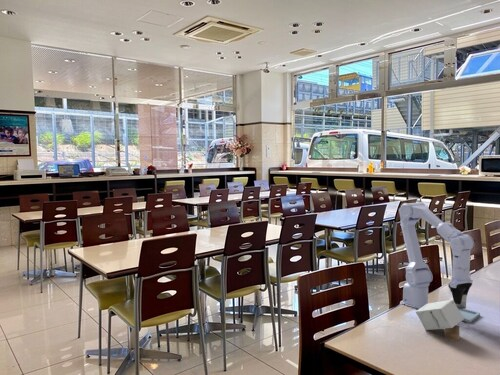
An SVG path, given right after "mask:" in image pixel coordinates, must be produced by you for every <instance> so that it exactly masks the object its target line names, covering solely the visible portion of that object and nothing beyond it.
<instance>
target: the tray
mask: <svg viewBox="0 0 500 375" xmlns="http://www.w3.org/2000/svg"><path fill="white" fill-rule="evenodd" d="M458 309H459V308H458ZM459 311H460V313H461V315H462V316H463V318H464V320H462V321H461V322H464V323H467V324H472V323H473V322H474V321H476V320H477V319H478V318H479V317H480V316H481V312H478V311H475V310H471V309H467V308H466V309H459Z"/></svg>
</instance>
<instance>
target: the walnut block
mask: <svg viewBox="0 0 500 375" xmlns="http://www.w3.org/2000/svg"><path fill="white" fill-rule="evenodd" d="M459 338H460V325H459V324H457V325H455V326H454V327H453V328H445V329H444V339H448V340H452V341H456V342H457V341H458V340H459Z"/></svg>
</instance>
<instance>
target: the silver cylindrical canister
mask: <svg viewBox="0 0 500 375" xmlns="http://www.w3.org/2000/svg"><path fill="white" fill-rule="evenodd" d="M466 297H468V294H467V295H466V294H465V293H463V296H462V301H461V304H456V303H455V304H456V306H457V308H459V309H467V298H466Z"/></svg>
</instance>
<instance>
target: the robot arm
mask: <svg viewBox="0 0 500 375" xmlns="http://www.w3.org/2000/svg"><path fill="white" fill-rule="evenodd" d="M398 213H399V217H400V222H399V224H400V226H401V227H400V228H401V232H402V236H403V241H404V244H405V249H406V255H407V258H408V262H409V263H408V265H407V266H406V267H405V280H406V282H405V283H404V285H403V289H402V302H401V304H402V305H404V304H405V305H404V306H408V307H411V308H415V309H417V310H418V309H420V308H421V307H423V306H424V305H426V304H428V303H429V286H430V283H431V282H432V281H433V278H434V277H433V273H432V271H431V269H430V268H429V267H430V266H429V265H428V264H427V263H426V262H424V260H423V255H422V251H421V246H420V241H419V238H418V234H417V231H416V230H417V229H416V226H415V225H416V224H417V222H418V221H420V220H421V219H423V220H424V221H425V222H427V223H428V224H429V225H431V226H432V227H434V228H436V232H437V235H440V236H441V238H443V239H444V240H445V241H446V242H448V243H449V247H450V248H451V253H452V265H451V266H452V270H451V272H452V274H451V279H450V281H449V283H448V284H447V286H448V288H449V291H450V292H451V294H452V295H451V296H452V300H453V301H454V302H455V303H456V304H461V301H462V296H463V293H465V294H466V295H467V297H468V294H469V291H470V288H471V287H472V286H473V282H474V281H473V279H472V278H471V277H472V276H471V274H470V271H471V270H470V269H471V250H472V249H473V248H474V247H475V241H474V238H473V237H472V236H471V235H470V234H465V233H463V232H462V231H461V230H458V229H457V228H456V227H455V226H454V225H453V223H451V222H447V221H446V222H443V221H442V220H441V219H440V218H439V217H438V216H437V215H436V214H434V213H433V212H432V210H430V209H429V206H428V205H426V204H425V203H424V202H422V201H419V202H411V203H410V202H409V203H407V202H404V203H402V204H401V205H400V207H399V208H398ZM467 297H466V299H467Z"/></svg>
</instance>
